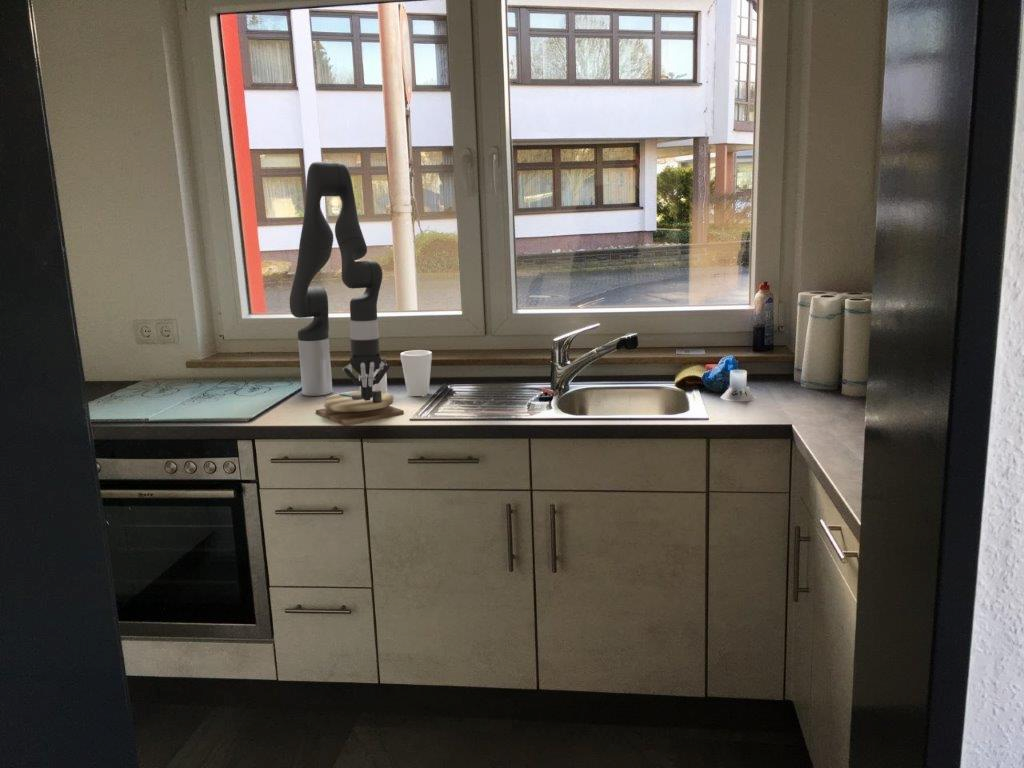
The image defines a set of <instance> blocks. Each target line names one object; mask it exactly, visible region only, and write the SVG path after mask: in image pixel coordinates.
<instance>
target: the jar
mask: <svg viewBox="0 0 1024 768" xmlns="http://www.w3.org/2000/svg"><path fill="white" fill-rule="evenodd" d="M380 357H381V360H382V362H383V363H385V364H387V361H386V357H384V356H380ZM379 366H380V365H379ZM379 366H378V368H377V369H376V371H375V372H374V377H375V376H376V374H377V373H378V371H379V370H380V369H379ZM387 376H388V375H387V372H386V373H385V375H384V376H383V378H382V379H381V381H380V382H379V383H378V384H375V385H373V386H372V391H375V390H380V391H382V392H387V393H388V380H387V379H388V378H387ZM366 378H367V377H366ZM358 380H359V381H360V378H359V377H358ZM358 387H359V391H361V386H358Z"/></svg>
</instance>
